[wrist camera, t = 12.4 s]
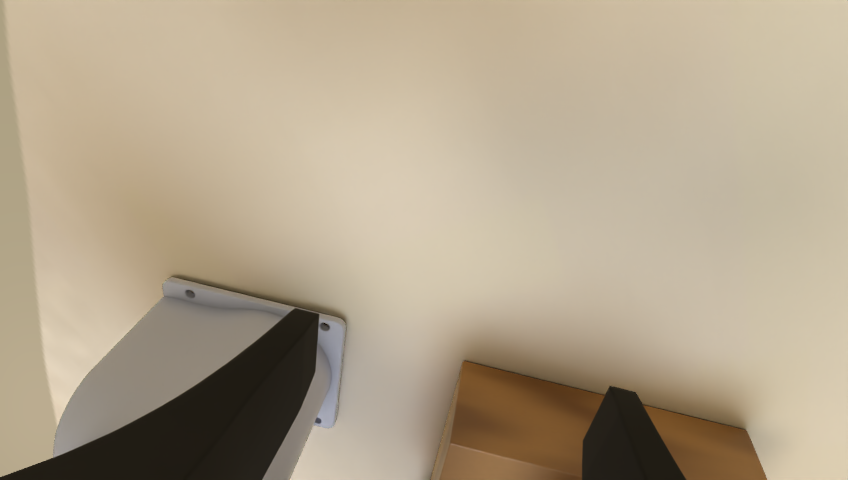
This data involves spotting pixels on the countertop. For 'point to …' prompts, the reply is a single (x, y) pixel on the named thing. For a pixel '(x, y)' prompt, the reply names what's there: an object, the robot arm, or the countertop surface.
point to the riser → (564, 433)
